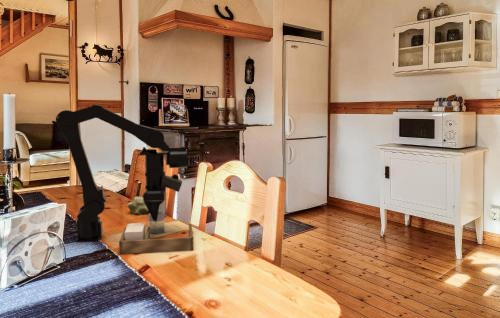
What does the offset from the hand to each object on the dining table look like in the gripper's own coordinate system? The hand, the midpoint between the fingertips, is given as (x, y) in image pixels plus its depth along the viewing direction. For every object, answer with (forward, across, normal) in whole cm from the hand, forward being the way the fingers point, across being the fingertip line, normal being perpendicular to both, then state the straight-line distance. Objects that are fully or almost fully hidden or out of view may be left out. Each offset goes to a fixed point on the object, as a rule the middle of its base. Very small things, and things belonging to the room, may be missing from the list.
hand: (155, 216), depth 130 cm
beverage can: (+5, +19, 0) cm, 20 cm away
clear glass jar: (+5, 0, 0) cm, 5 cm away
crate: (+5, -12, -1) cm, 13 cm away
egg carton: (+5, -12, +5) cm, 14 cm away
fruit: (+5, +27, +7) cm, 28 cm away
